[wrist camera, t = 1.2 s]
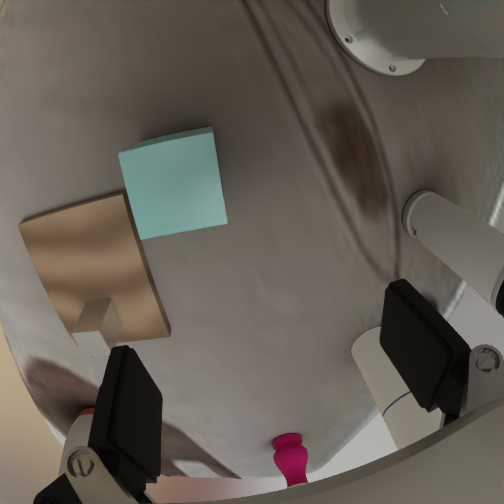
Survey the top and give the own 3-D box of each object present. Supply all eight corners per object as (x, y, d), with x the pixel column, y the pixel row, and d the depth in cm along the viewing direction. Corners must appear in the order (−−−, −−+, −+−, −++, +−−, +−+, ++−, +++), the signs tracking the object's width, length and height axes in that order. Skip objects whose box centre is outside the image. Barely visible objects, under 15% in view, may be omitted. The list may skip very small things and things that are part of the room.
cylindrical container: (358, 329, 40) (436, 476, 18) (396, 323, 41) (478, 451, 19) (346, 362, 43) (406, 497, 21) (382, 355, 44) (447, 475, 23)
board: (24, 219, 26) (17, 224, 25) (126, 190, 27) (122, 194, 26) (79, 338, 35) (76, 345, 33) (171, 328, 35) (170, 336, 34)
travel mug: (394, 235, 34) (504, 342, 16) (409, 185, 31) (542, 270, 13) (428, 239, 35) (530, 331, 17) (443, 193, 32) (561, 271, 14)
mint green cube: (141, 141, 25) (118, 153, 18) (212, 126, 25) (212, 132, 19) (156, 207, 28) (140, 239, 21) (223, 194, 29) (227, 223, 22)
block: (86, 302, 30) (71, 333, 26) (111, 298, 31) (98, 330, 26) (97, 325, 32) (86, 356, 27) (122, 322, 32) (113, 355, 27)
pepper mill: (306, 430, 53) (330, 510, 36) (297, 444, 57) (317, 517, 39) (273, 433, 52) (292, 518, 35) (267, 447, 55) (283, 524, 38)
